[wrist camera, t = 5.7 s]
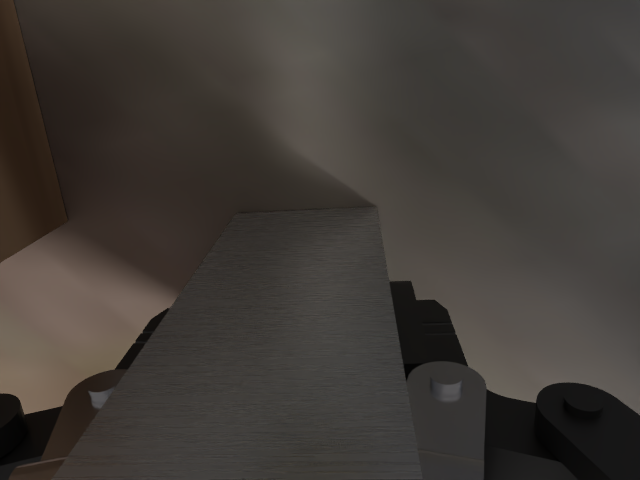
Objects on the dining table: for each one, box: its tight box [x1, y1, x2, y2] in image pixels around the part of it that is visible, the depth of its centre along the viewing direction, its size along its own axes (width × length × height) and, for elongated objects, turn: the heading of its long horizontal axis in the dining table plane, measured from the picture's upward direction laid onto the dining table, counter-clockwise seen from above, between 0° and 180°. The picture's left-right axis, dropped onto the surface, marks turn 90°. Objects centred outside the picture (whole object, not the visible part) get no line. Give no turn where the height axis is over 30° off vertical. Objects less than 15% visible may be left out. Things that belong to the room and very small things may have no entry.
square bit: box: [52, 207, 423, 480], centre depth 10 cm, size 4×4×12 cm
